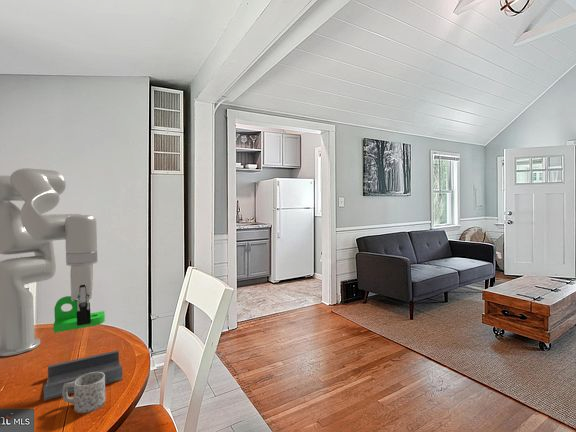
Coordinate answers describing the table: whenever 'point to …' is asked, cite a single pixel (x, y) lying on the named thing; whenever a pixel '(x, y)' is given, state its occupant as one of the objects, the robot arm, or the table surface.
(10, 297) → the robot arm
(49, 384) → the cradle
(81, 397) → the mug
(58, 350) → the table surface
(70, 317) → the mechanical part
